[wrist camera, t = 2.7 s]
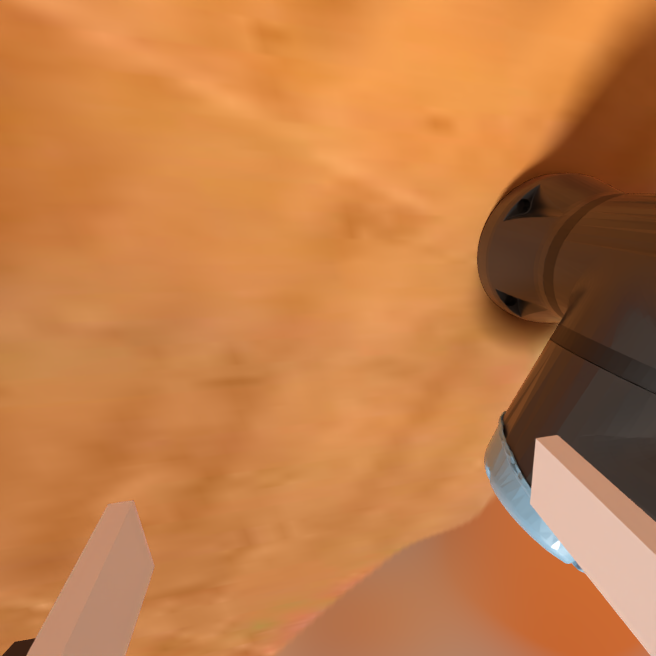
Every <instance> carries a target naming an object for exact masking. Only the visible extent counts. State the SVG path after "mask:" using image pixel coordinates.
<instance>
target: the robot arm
mask: <svg viewBox="0 0 656 656" xmlns="http://www.w3.org/2000/svg"><path fill="white" fill-rule="evenodd" d="M477 264H478V272H479V277H480V280H481V283H482V285H483V288H484V290H485V291H486V293H487V295H488V296H489V297H490V299H491V300H492V301H493V302H494V303H495V304H496V305H498V306H499V307H500V308H502V309H503V310H505V311H507V312H509V313H511V314H513V315H514V316H516V317H519V318H521V319H524V320H528V321H532V322H544V323H559V325H558V326H557V328H556V330H555V331H554V333H553V335H552V336H551V338H550V339H549V341H548V343H547V345H546V346H545V348H544V350H543V351H542V353H541V355H540V356H539V358H538V360H537V361H536V363H535V365H534V366H533V368H532V370H531V371H530V373H529V375H528V376H527V378H526V380H525V381H524V383H523V385H522V386H521V388H520V390H519V391H518V393H517V395H516V396H515V398H514V400H513V401H512V403H511V405H510V406H509V408H508V410H507V411H505V412H503V413H502V415H501V416H500V418H499V425H498V427H497V429H496V431H495V433H494V435H493V437H492V439H491V441H490V443H489V444H488V446H487V449H486V452H485V458H484V463H485V469H486V473H487V476H488V478H489V480H490V484H491V486H492V488H493V490H494V492H495V494H496V495H497V497H498V498H499V500H500V501H501V503H502V504H503V506H504V507H505V508H506V510H507V511H508V512H509V513H510V515H511V516H512V517H513V518H514V519H515V520H516V522H517V523H518V524H519V525H520V526H521V527H522V528H523V529H524V530H525V531H526V532H527V533H528V534H529V535H530V536H531V537H532V538H533V539H534V540H535V541H537V542H538V543H539V544H540V545H541V546H542V547H543V548H545V549H546V550H547V551H548V552H550V553H551V554H553V555H554V556H556V557H557V558H559V559H560V560H562V561H563V562H564V563H567V564H569V563H572V564H573V565H574V566H575V567H576V568H577V569H578V570H579V571H581V572H584V573H585V574H586V575H587V576H588V577H589V579H590V580H591V581H592V582H593V584H594V585H595V586H596V587H597V589H598V590H599V591H600V592H601V593H602V595H603V596H604V597H605V599H606V600H607V601H608V602H609V604H610V605H611V606H612V608H613V609H614V610H615V611H616V613H617V614H618V615H619V616H620V618H621V619H622V620H623V621H624V623H625V624H626V625H627V626H628V628H629V629H630V630H631V631H632V633H633V634H634V635H635V636H636V638H637V639H638V640H639V641H640V643H641V644H642V645H643V647H644V648H645V649H646V650H647V652H648V653H649V654H650V655H651V656H656V194H626V193H624V192H622V191H620V190H618V189H616V188H614V187H612V186H610V185H608V184H606V183H604V182H602V181H600V180H599V179H596V178H594V177H591V176H588V175H583V174H577V173H557V174H547V175H543V176H539V177H536V178H533V179H531V180H529V181H527V182H525V183H523V184H521V185H520V186H518V187H517V188H515V189H514V190H513V191H511V192H510V193H509V194H508V195H507V196H506V197H505V198H504V199H503V200H502V201H501V202H500V203H499V204H498V205H497V207H496V208H495V209H494V211H493V212H492V214H491V215H490V217H489V219H488V221H487V223H486V225H485V227H484V229H483V232H482V235H481V238H480V242H479V247H478V256H477ZM153 570H154V563H153V560H152V557H151V553H150V550H149V547H148V544H147V541H146V538H145V535H144V531H143V528H142V525H141V522H140V519H139V516H138V513H137V509H136V506H135V503H134V500H132V501H125V502H119V503H112V504H108V505H107V507H106V509H105V511H104V513H103V515H102V516H101V518H100V520H99V522H98V524H97V526H96V528H95V529H94V531H93V533H92V535H91V537H90V539H89V541H88V542H87V544H86V546H85V548H84V550H83V552H82V554H81V555H80V557H79V559H78V561H77V563H76V565H75V566H74V568H73V570H72V572H71V574H70V576H69V578H68V579H67V581H66V583H65V585H64V587H63V589H62V591H61V592H60V594H59V596H58V598H57V600H56V602H55V603H54V605H53V607H52V609H51V611H50V613H49V615H48V616H47V618H46V620H45V622H44V624H43V626H42V628H41V629H40V631H39V633H38V635H37V637H36V638H35V639H29V640H23V641H18V642H14V643H13V644H12V646H11V647H10V648H9V649H8V650H7V651H6V652H5V653H4V654H3V655H2V656H125V655H126V652H127V649H128V646H129V643H130V639H131V636H132V633H133V630H134V627H135V624H136V621H137V618H138V615H139V612H140V609H141V606H142V603H143V600H144V597H145V594H146V591H147V588H148V585H149V582H150V579H151V576H152V573H153Z"/></svg>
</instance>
